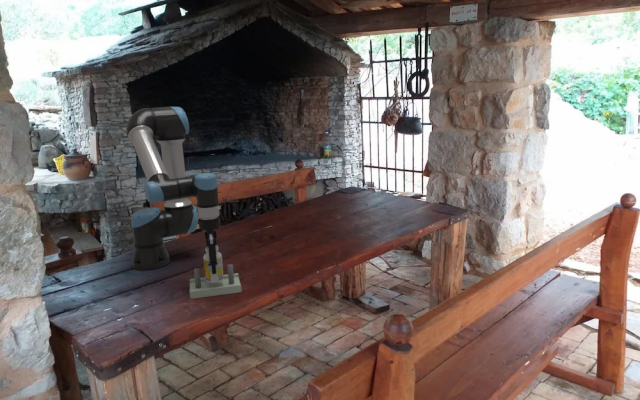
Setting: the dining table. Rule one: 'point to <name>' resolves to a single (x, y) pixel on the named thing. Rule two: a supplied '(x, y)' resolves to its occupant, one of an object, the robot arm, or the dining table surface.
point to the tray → (214, 285)
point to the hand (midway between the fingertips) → (214, 277)
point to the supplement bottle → (207, 268)
